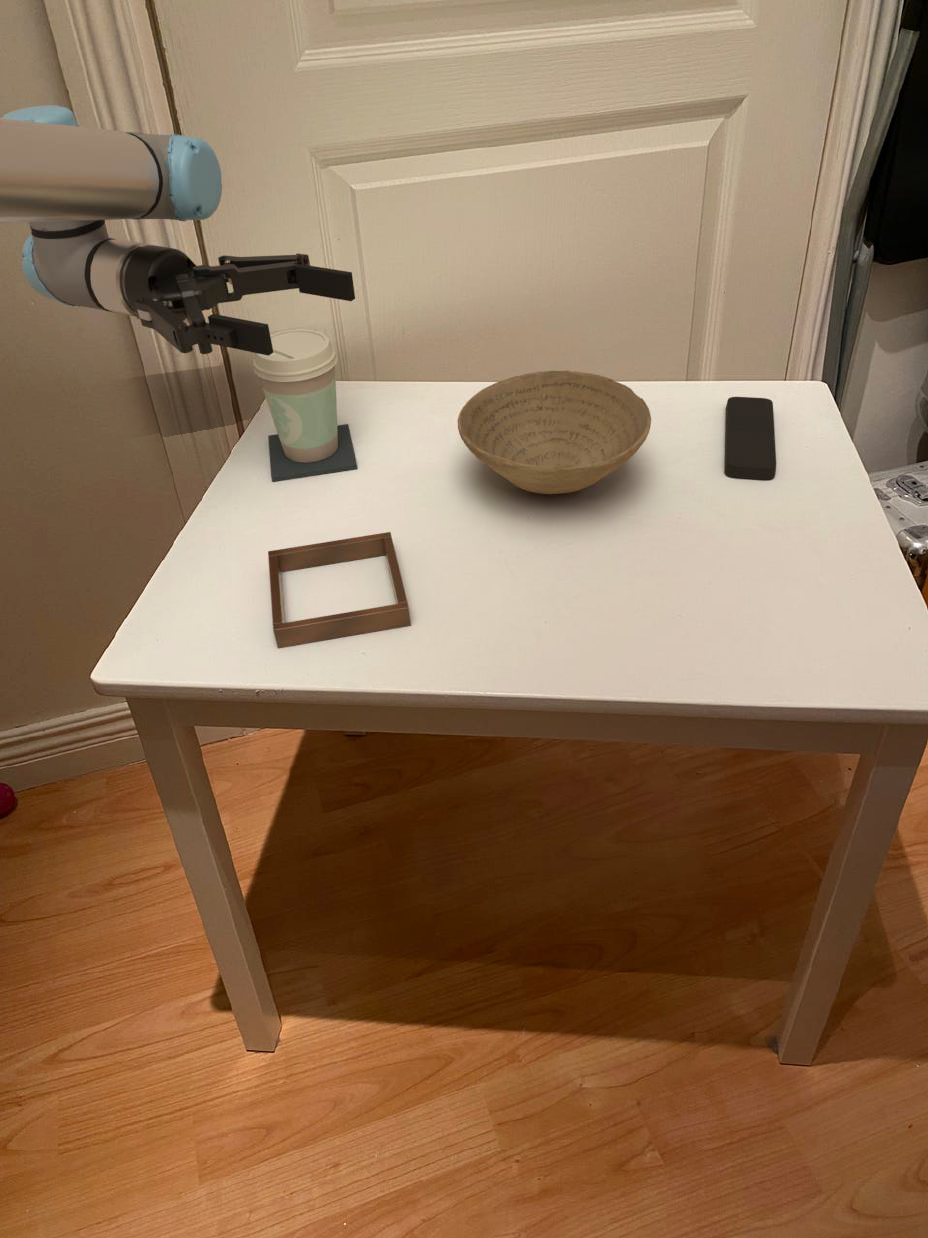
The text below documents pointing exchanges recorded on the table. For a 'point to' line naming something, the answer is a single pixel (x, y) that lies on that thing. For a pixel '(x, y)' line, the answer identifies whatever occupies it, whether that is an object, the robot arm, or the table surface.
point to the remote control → (750, 438)
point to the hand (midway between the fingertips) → (312, 312)
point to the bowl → (554, 429)
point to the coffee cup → (301, 393)
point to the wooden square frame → (344, 621)
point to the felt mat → (291, 469)
